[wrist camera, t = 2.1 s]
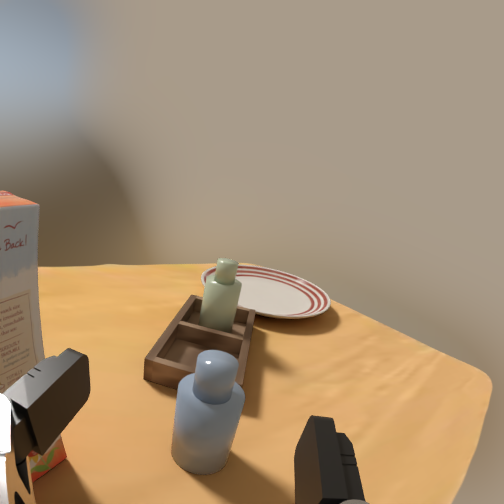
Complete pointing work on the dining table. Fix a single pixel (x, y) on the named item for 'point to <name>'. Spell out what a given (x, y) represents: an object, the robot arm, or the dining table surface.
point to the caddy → (196, 344)
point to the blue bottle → (207, 413)
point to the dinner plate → (277, 293)
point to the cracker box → (21, 307)
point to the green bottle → (221, 297)
